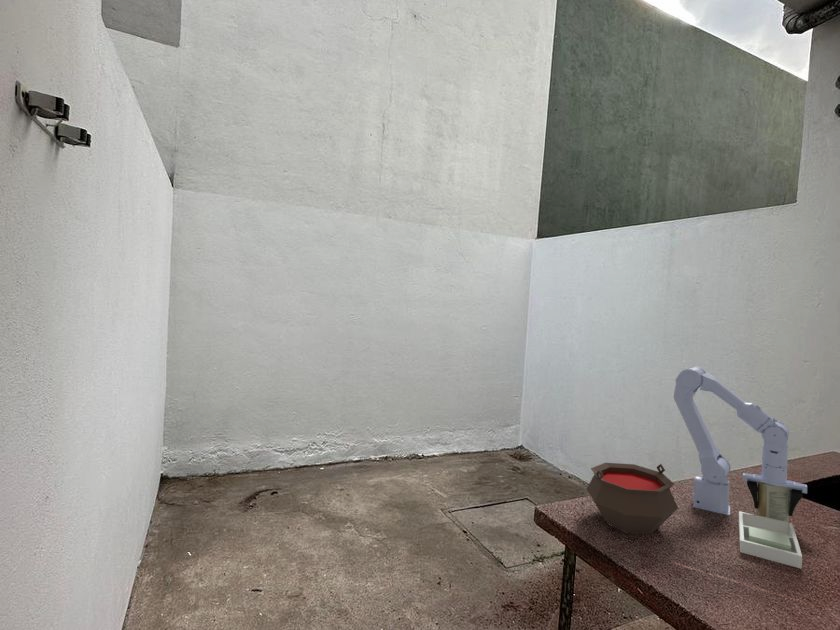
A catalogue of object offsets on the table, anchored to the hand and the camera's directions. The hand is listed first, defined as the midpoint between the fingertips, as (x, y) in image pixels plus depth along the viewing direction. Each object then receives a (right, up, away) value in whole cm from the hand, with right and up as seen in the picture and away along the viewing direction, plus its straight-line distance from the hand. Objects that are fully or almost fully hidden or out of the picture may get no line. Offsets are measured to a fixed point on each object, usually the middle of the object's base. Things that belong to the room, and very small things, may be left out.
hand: (772, 511), depth 129 cm
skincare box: (0, -4, 0) cm, 4 cm away
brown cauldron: (-42, -3, 0) cm, 42 cm away
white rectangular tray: (-10, -4, -11) cm, 16 cm away
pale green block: (-13, -4, -15) cm, 20 cm away
